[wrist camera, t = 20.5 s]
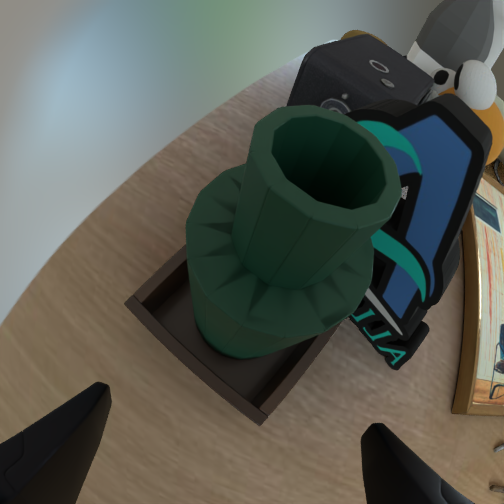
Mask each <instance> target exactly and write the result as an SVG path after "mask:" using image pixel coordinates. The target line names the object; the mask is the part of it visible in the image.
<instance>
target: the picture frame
mask: <svg viewBox="0 0 504 504" xmlns="http://www.w3.org/2000/svg"><path fill="white" fill-rule="evenodd" d="M462 234H463V247H464V265H465V313H464V331H463V343H462V353H461V362H460V369H459V376H458V382H457V388H456V394H455V399H454V404H453V409H452V414H463V415H478V416H504V187H503V186H502V185H501V184H500V183H499V182H497V181H496V180H495V179H494V178H492V177H491V176H490V175H489V174H487V173H486V172H485V171H484V172H483V176H482V178H481V181H480V184H479V187H478V189H477V191H476V194H475V197H474V200H473V203H472V205H471V208H470V210H469V212H468V214H467V217H466V220H465V222H464V225H463V227H462Z"/></svg>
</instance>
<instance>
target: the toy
mask: <svg viewBox="0 0 504 504" xmlns="http://www.w3.org/2000/svg"><path fill="white" fill-rule="evenodd" d="M430 76H431V77H432V78H433V79H434V83H433V86H432V87H431V89H432V90H435V91H436V92H438V93H437V94H438V95H443V94H445V93H452V94H454V95H456V96H458V97H459V98H460V99H461V100H462V101H464V102H465V103H466V104H467V105H468V106H469V107H470V108H471V109H472V110H473V112H474V113H475V114H476V115H477V116H478V117H479V118H480V119H481V120H482V121H483V122H484V123H485V124H486V125H487V126H488V127H489V128H490V130H491V133H492V136H493V140H492V143H493V144H492V146H491V150H490V152H489V156H488V159H487V162H486V165H488V164H490V163H491V162H493V161H494V160H495V159H496V158H497V157H498V156H499V155H500V153H501V151H502V149H503V147H504V119H503V116H502V114H501V111H500V110H499V108H498V106H497V105H496V103H495V102H494V100H495V97H496V81H495V78H494V75H493V73H492V72H491V70H490V69H489V67H488V66H486V65H485V64H484V63H482V62H481V61H477V60H469V61H466V62H464V63H463V64H462V65H461V66H460V67H459V68H458V69H457V72H455V71H453V70H451V69H448V68H439V69H436V70H434V71H433V72H432V73H431V74H430Z"/></svg>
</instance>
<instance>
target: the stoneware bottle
mask: <svg viewBox="0 0 504 504" xmlns="http://www.w3.org/2000/svg"><path fill="white" fill-rule="evenodd" d="M401 195H402V189H401V184H400V179H399V174H398V170H397V165H396V164H395V161H394V160H393V158H392V157H391V155H390V154H389V153H388V151H387V150H386V149H385V147H384V146H383V145H382V143H381V142H380V141H379V139H378V138H377V137H376V136H375V135H374V134H373V133H371V132H370V131H368V130H367V129H366V128H364V127H363V126H361V125H360V124H358V123H357V122H355V121H354V120H352V119H351V118H349V117H348V116H345V115H344V114H341V113H338V112H334V111H331V110H328V109H325V108H321V107H318V106H314V105H300V106H286V107H280V108H277V109H276V110H274V111H273V112H271V113H270V114H268V115H267V116H265V117H264V118H263V119H261V120H260V121H258V122H257V123H256V125H255V127H254V131H253V136H252V140H251V145H250V149H249V153H248V158H247V162H246V164H243V165H240V166H237V167H234V168H231V169H228V170H226V171H224V172H222V173H221V174H220V175H219V176H218V177H216V178H215V179H214V180H213V181H212V182H211V183H209V184H208V185H207V186H206V187H205V188H204V189H203V190H201V191H200V193H199V194H198V197H197V199H196V201H195V203H194V205H193V208H192V210H191V212H190V214H189V217H188V219H187V221H186V253H187V265H188V273H189V281H190V289H191V296H192V303H193V310H194V317H195V324H196V326H197V328H198V331H199V333H200V335H201V337H202V338H203V340H204V341H205V342H206V343H207V345H208V346H210V347H211V348H212V349H213V350H214V351H216V352H217V353H219V354H221V355H223V356H226V357H228V358H232V359H238V360H246V359H253V358H259V357H262V356H265V355H268V354H270V353H273V352H276V351H278V350H281V349H284V348H286V347H289V346H292V345H294V344H297V343H299V342H302V341H304V340H307V339H309V338H312V337H314V336H317V335H319V334H322V333H324V332H326V331H328V330H329V329H331V328H332V327H334V326H335V325H337V324H338V323H340V322H341V321H342V320H344V319H345V318H347V317H348V316H350V315H351V314H352V313H354V311H356V309H357V307H358V305H359V304H360V302H361V300H362V298H363V297H364V295H365V293H366V291H367V289H368V288H369V286H370V284H371V281H372V271H373V259H374V250H373V249H374V247H373V244H372V240H371V236H372V235H373V234H374V233H376V232H377V231H378V230H379V229H380V228H381V227H382V226H383V225H384V224H385V223H386V222H387V221H388V220H389V219H390V218H391V216H392V214H393V212H394V210H395V208H396V206H397V204H398V202H399V200H400V198H401Z"/></svg>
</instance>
